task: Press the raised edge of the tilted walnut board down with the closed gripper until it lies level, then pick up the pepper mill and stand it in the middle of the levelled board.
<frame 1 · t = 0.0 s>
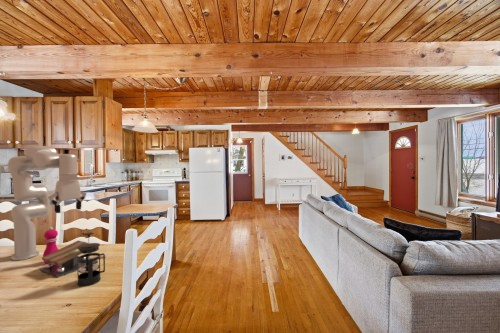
hand: (68, 211, 126), 31 cm above the table, tool pointing down, fingers open, 9 cm apart
pepper mill: (51, 262, 137), on the table
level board: (69, 251, 130), point 9 cm above the table, hinge at 12.0°
board stand: (70, 266, 131), on the table
french press: (90, 281, 115), on the table
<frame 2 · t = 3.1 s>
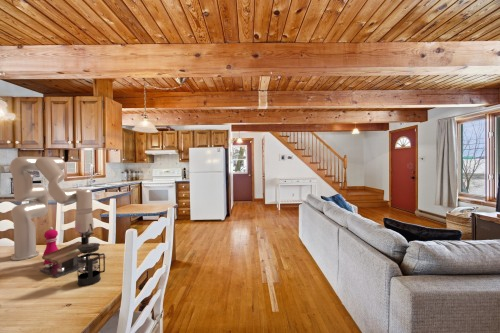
hand: (85, 243, 138), 10 cm above the table, tool pointing down, fingers closed
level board: (69, 250, 131), point 9 cm above the table, hinge at 8.2°, touching gripper
everything else where it was.
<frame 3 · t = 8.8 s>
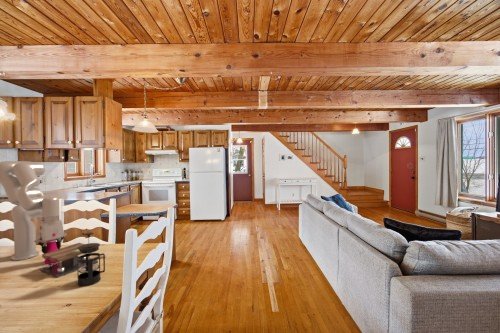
hand: (51, 250, 137), 7 cm above the table, tool pointing down, fingers closed on pepper mill, 5 cm apart
pepper mill: (51, 262, 137), on the table, touching gripper
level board: (69, 250, 131), point 9 cm above the table, hinge at 2.3°
everything else where it was.
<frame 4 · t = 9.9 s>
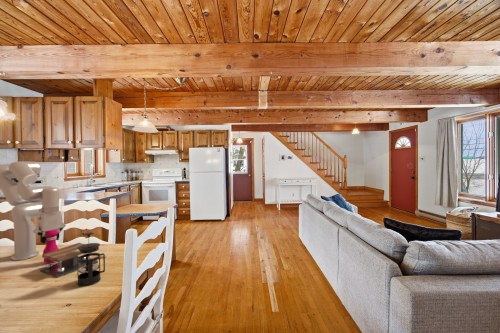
hand: (50, 241, 137), 12 cm above the table, tool pointing down, fingers closed on pepper mill, 5 cm apart
pepper mill: (51, 260, 137), point 1 cm above the table, touching gripper
everything else where it was.
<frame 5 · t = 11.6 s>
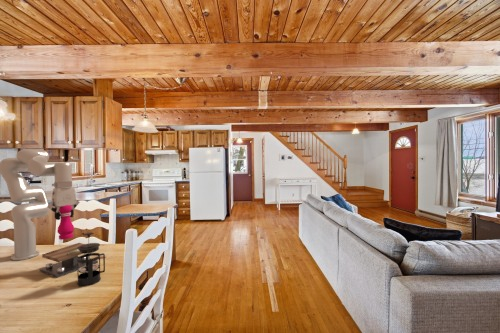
hand: (64, 217, 132), 26 cm above the table, tool pointing down, fingers closed on pepper mill, 5 cm apart
pepper mill: (66, 238, 132), point 15 cm above the table, touching gripper
everything else where it was.
when the fingers open (20 cm above the table, at t = 13.0 s): pepper mill stays where it is, resting on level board.
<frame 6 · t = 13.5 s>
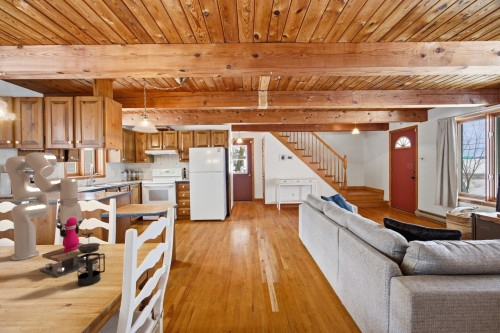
hand: (69, 234, 131), 17 cm above the table, tool pointing down, fingers open, 5 cm apart
pepper mill: (71, 251, 130), point 9 cm above the table, touching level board
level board: (69, 250, 131), point 9 cm above the table, hinge at 1.9°, touching pepper mill
everything else where it was.
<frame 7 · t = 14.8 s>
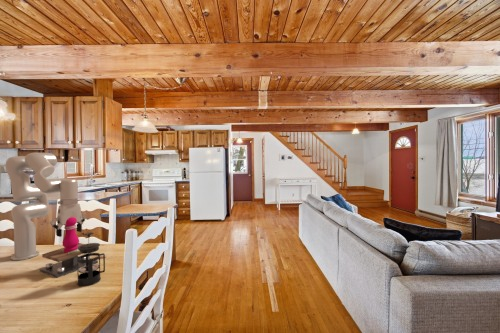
hand: (69, 233, 131), 18 cm above the table, tool pointing down, fingers open, 9 cm apart
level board: (69, 250, 131), point 9 cm above the table, hinge at 1.6°, touching pepper mill
everything else where it was.
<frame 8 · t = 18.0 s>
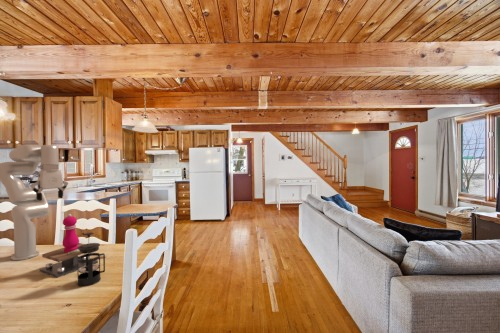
hand: (50, 199, 133), 36 cm above the table, tool pointing down, fingers open, 9 cm apart
nothing on the table moved.
at the end: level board at +2° (first picture: +12°); pepper mill inside the target area on the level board (1.4 cm from its centre), point 1.8 cm above the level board's base; pepper mill tilted 2° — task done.
